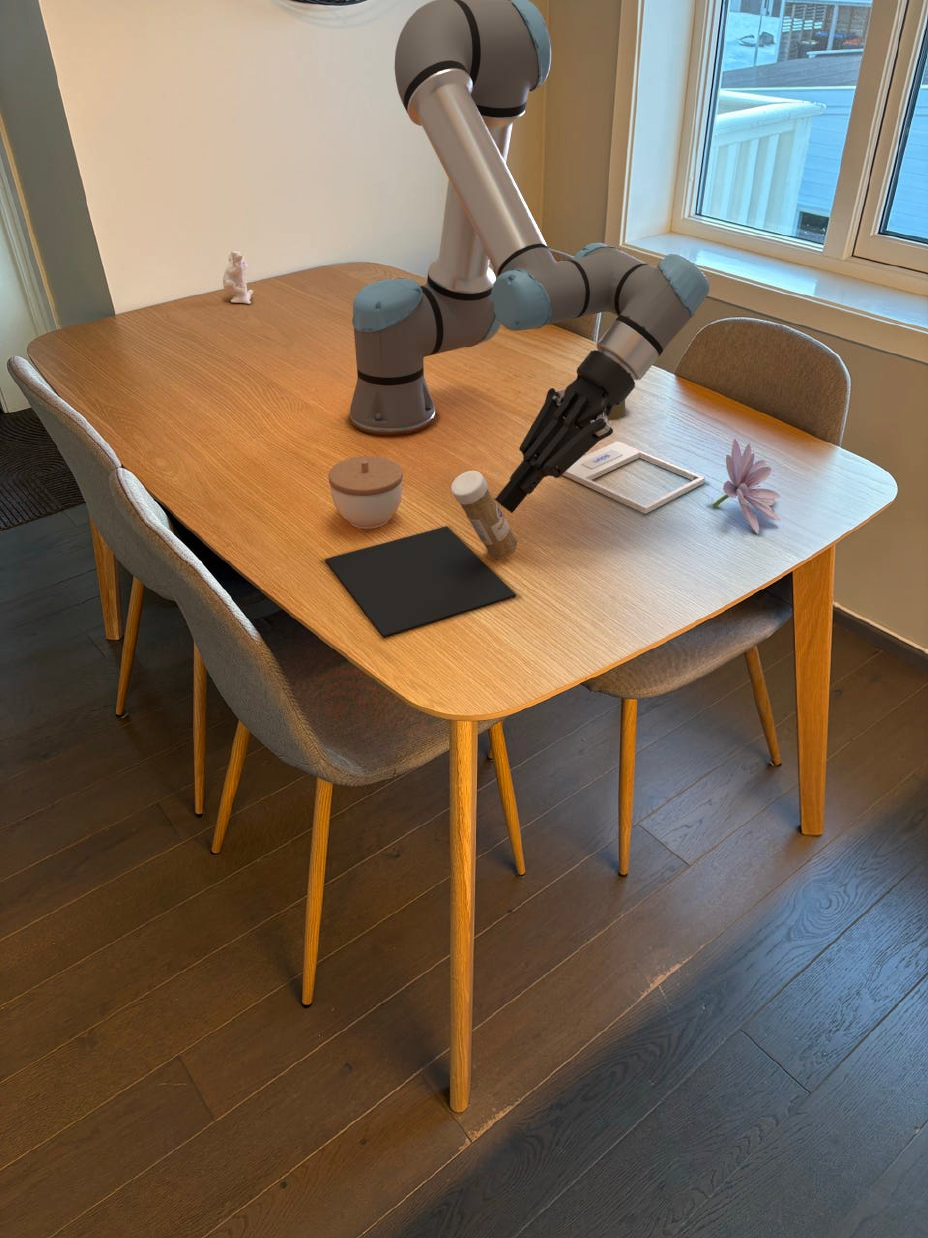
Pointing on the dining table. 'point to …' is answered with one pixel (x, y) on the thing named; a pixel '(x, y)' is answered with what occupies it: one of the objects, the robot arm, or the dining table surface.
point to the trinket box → (366, 490)
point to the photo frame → (617, 457)
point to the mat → (418, 580)
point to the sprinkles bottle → (484, 514)
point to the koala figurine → (237, 278)
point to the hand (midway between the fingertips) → (503, 506)
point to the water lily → (748, 485)
